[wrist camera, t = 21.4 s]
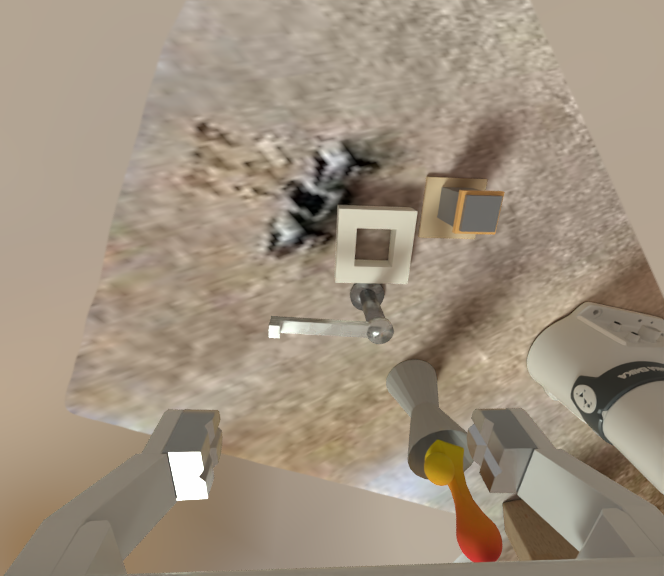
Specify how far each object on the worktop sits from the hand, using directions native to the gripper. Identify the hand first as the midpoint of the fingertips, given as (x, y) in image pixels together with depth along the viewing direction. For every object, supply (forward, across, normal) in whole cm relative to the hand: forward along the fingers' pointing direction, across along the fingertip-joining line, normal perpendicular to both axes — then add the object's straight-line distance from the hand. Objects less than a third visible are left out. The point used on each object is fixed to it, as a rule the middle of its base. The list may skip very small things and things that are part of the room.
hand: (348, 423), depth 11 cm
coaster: (+37, -18, -1) cm, 41 cm away
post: (+37, -7, +12) cm, 40 cm away
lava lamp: (+37, -16, +28) cm, 49 cm away
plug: (+37, -18, -2) cm, 41 cm away
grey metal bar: (+27, -1, +12) cm, 30 cm away
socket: (+37, -7, +4) cm, 38 cm away
